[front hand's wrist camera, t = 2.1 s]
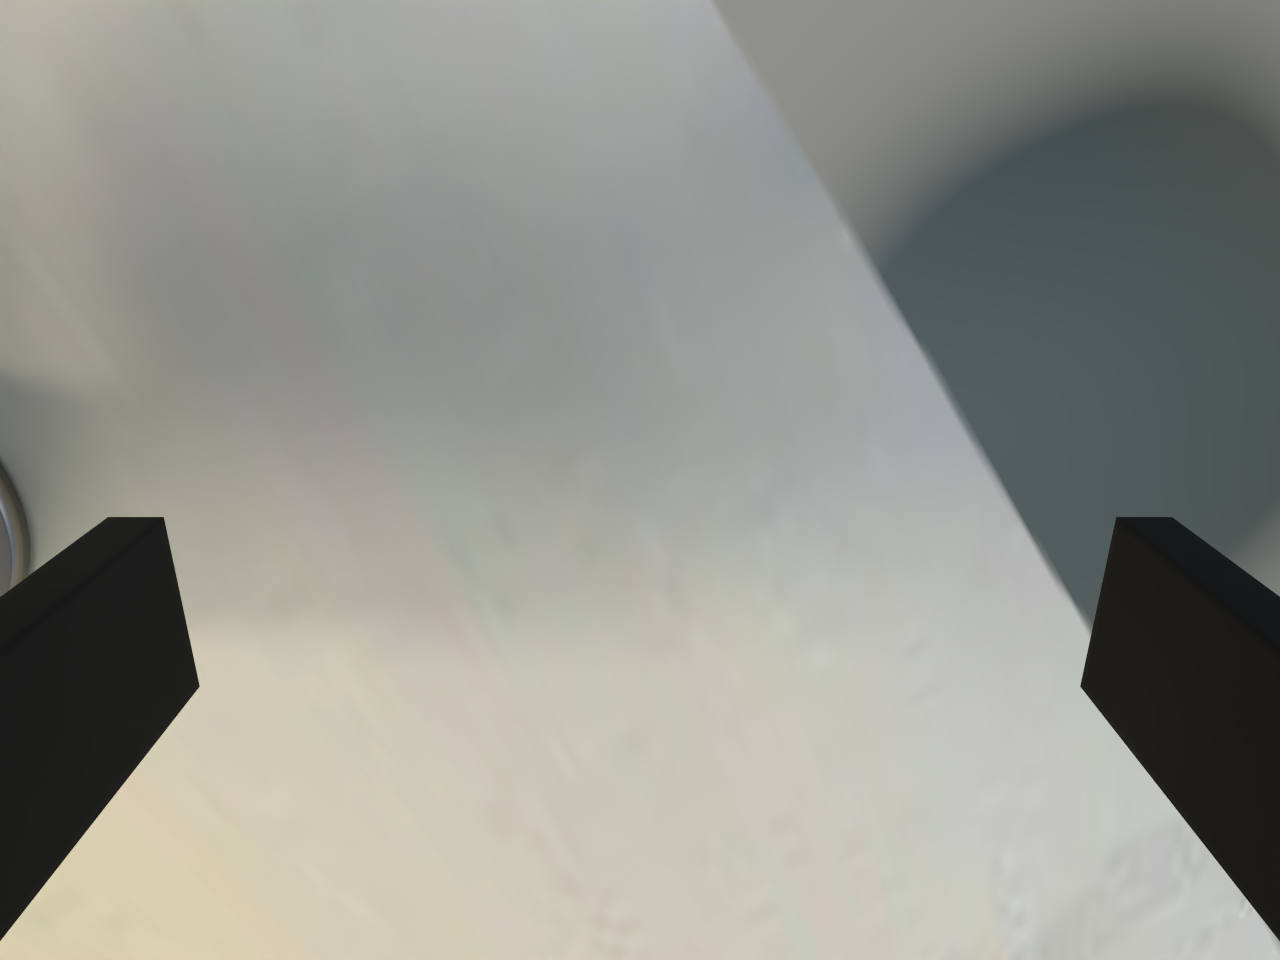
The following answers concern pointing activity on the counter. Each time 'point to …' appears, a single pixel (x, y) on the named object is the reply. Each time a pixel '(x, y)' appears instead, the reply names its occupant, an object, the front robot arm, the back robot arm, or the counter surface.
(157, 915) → the counter surface
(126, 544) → the front robot arm
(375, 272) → the counter surface
